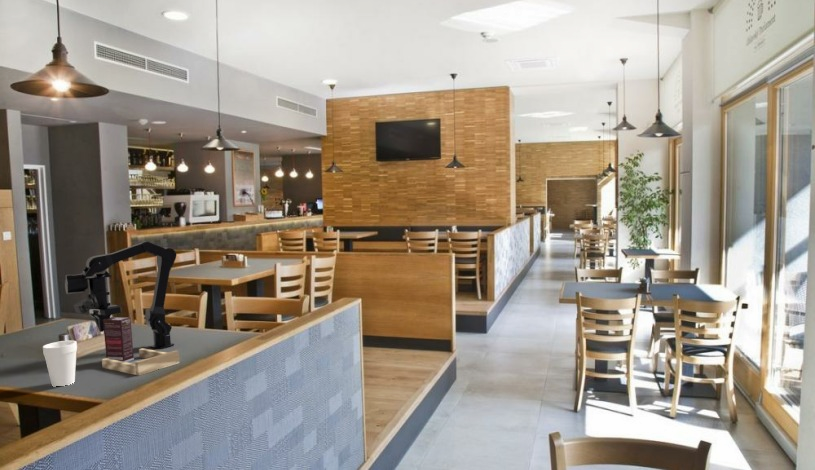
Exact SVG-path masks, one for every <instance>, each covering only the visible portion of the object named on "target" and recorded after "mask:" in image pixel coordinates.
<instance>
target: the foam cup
mask: <svg viewBox="0 0 815 470" xmlns="http://www.w3.org/2000/svg"><path fill="white" fill-rule="evenodd" d="M42 351H43V354H42V355H43V356H44V358H45V363H46V367H47V372H48V375H49V380H50V383H51V386H53V388H57V387H56V386H64V387H66V386H65V385H68V386H70V384H71V385H73V384H75V383H74V382H75V381H76V368H77V366H76V365H77V351H78V343H77V340H60V341H55V342H50V343H46V344H44V345H42ZM72 383H73V384H72Z"/></svg>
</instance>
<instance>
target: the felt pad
mask: <svg viewBox="0 0 815 470" xmlns="http://www.w3.org/2000/svg"><path fill="white" fill-rule="evenodd" d="M144 359H145V358H140V359H136V360H132V361H130V362H128V363H132V364H135V362H137V361H141V360H144Z"/></svg>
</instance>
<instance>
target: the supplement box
mask: <svg viewBox="0 0 815 470" xmlns="http://www.w3.org/2000/svg"><path fill="white" fill-rule="evenodd" d="M103 325H104V331H103V332H104V333H103V335H104V345H105V357H106V358H108V359H113V360H118V361H123V362H128V363H129V362H132V361H135V357H134V345H133V332H132V320H131V317H123V316H121V317H120V316H118V317H117V316H112V317H111V316H110V318H107V319H103Z"/></svg>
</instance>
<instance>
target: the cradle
mask: <svg viewBox="0 0 815 470" xmlns="http://www.w3.org/2000/svg"><path fill="white" fill-rule="evenodd" d="M138 354H139V355H138V356H139V358H140V359H144V360H141V361H137V362H135V364H132V363H129V362H123V361H118V360H113V359H108V358H102V359H101V365H102V367H101V368H103V369H107V370H111V371H115V372H121V373H125V374H130V375H134V376H142V375H145V374H149V373H151V372H155V371H158V369H159V370H161V369H164V368H168V367H171V366H175V365H177V364H180V353H179V350H173V351H168V352H166V351H158V350H155V349H154V350H153V349H149V348H148V349H147V348H143V347H142V348H139V349H138Z"/></svg>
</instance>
